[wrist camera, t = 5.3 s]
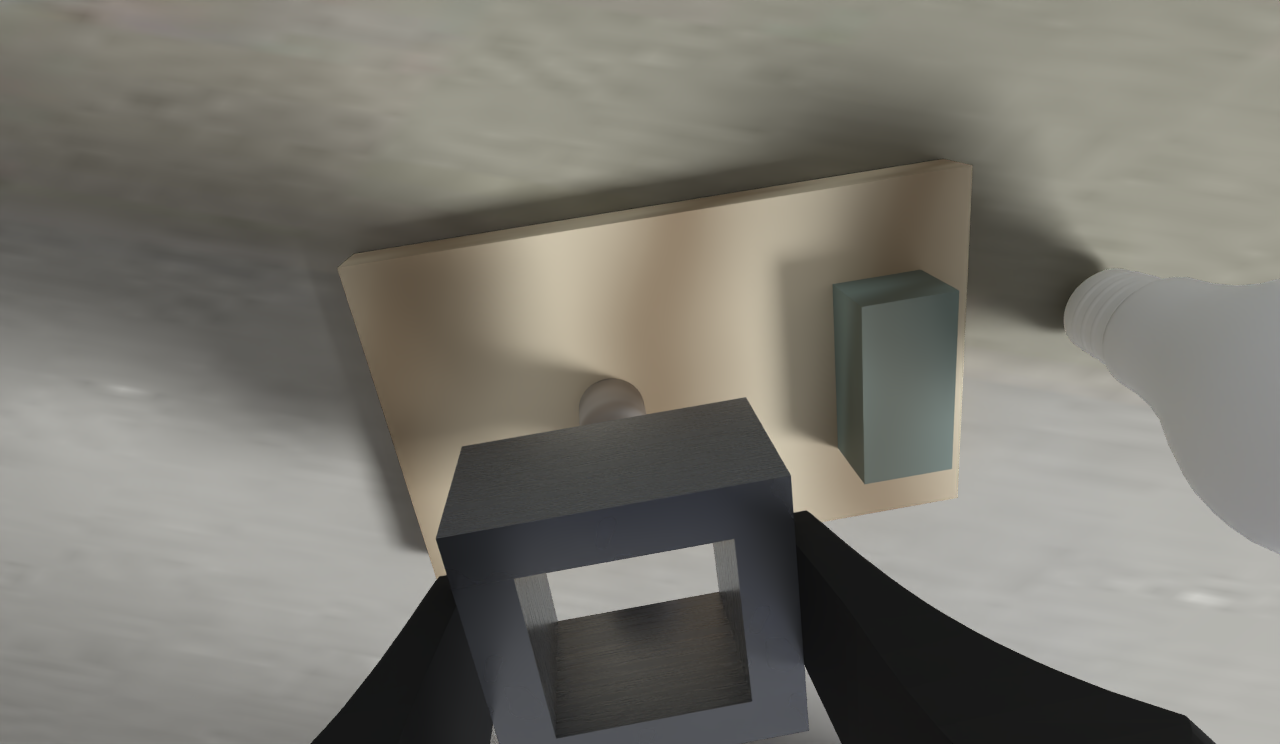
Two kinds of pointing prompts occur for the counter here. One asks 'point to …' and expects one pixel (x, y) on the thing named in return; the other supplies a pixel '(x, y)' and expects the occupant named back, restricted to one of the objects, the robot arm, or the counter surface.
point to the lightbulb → (1198, 380)
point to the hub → (618, 529)
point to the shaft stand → (692, 331)
